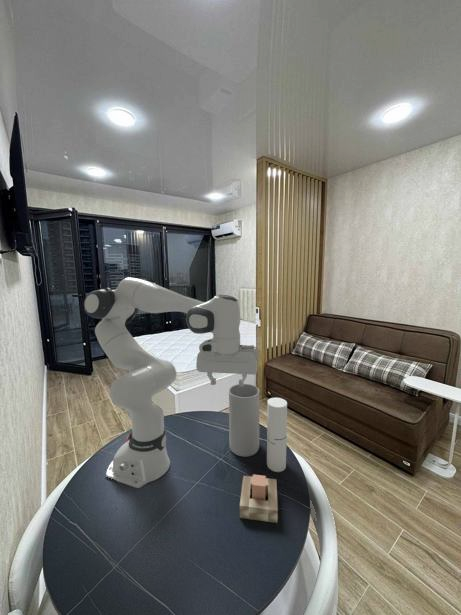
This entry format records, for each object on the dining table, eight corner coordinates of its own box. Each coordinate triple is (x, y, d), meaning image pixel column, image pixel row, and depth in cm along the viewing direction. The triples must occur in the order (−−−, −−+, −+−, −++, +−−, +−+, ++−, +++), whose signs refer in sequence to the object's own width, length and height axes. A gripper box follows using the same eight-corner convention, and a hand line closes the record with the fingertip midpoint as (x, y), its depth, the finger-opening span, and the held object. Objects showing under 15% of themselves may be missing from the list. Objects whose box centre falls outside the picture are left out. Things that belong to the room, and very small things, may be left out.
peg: (252, 508, 74) (252, 484, 73) (252, 496, 78) (252, 474, 77) (265, 510, 73) (265, 486, 73) (265, 498, 77) (265, 475, 76)
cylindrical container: (286, 473, 87) (287, 408, 85) (266, 470, 89) (266, 406, 86) (285, 459, 94) (286, 398, 91) (267, 456, 96) (267, 396, 93)
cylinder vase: (265, 448, 101) (265, 391, 98) (243, 462, 93) (243, 401, 90) (244, 433, 110) (244, 381, 107) (223, 445, 102) (222, 389, 99)
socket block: (239, 517, 71) (239, 505, 71) (243, 486, 82) (243, 475, 82) (277, 523, 70) (277, 510, 69) (276, 490, 80) (276, 479, 80)
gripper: (259, 343, 80) (258, 382, 82) (199, 341, 83) (200, 379, 85) (258, 348, 74) (258, 391, 76) (194, 346, 77) (195, 387, 79)
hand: (227, 385), depth 80 cm, fingers open, 8 cm apart
